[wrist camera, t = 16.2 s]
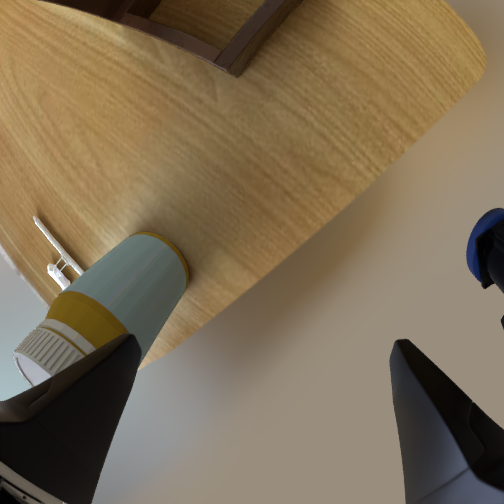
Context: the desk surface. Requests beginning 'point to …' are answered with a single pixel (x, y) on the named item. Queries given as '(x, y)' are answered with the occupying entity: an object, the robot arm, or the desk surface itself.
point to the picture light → (64, 255)
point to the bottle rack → (229, 60)
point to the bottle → (107, 306)
